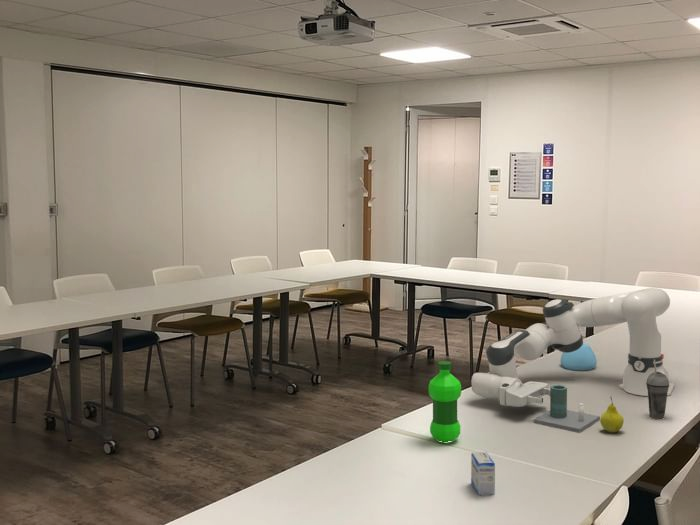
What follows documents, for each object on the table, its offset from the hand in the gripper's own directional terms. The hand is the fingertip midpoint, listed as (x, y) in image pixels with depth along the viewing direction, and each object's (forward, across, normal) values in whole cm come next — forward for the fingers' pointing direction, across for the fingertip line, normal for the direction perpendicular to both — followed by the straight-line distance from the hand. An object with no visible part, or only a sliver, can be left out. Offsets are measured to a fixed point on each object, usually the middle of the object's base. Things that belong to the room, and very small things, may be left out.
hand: (548, 397), depth 245 cm
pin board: (+6, 0, -7) cm, 10 cm away
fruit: (+22, 0, -7) cm, 23 cm away
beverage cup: (+28, -22, -7) cm, 37 cm away
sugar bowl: (-21, -70, -8) cm, 74 cm away
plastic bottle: (-16, +40, -7) cm, 43 cm away
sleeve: (+3, 0, -6) cm, 7 cm away
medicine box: (+12, +64, -7) cm, 65 cm away
